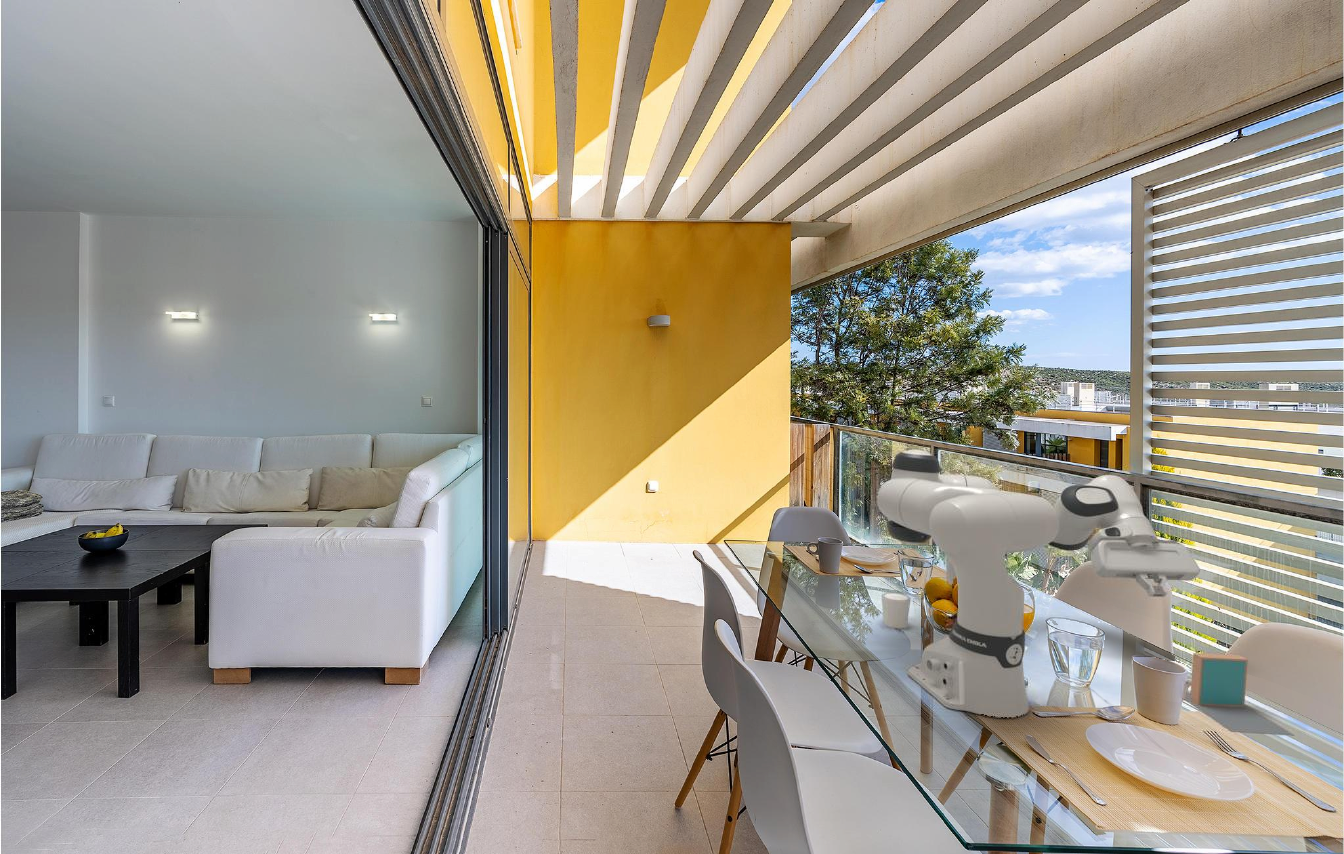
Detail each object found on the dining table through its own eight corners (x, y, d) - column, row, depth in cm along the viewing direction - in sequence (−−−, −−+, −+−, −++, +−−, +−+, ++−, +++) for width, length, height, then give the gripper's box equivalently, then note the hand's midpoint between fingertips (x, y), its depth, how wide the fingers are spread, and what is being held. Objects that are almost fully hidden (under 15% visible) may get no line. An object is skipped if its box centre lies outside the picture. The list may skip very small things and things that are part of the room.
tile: (1190, 699, 122) (1193, 652, 122) (1235, 702, 122) (1239, 654, 121) (1198, 705, 120) (1201, 657, 120) (1244, 707, 120) (1248, 659, 119)
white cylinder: (906, 631, 157) (907, 602, 156) (877, 625, 161) (878, 597, 160) (912, 622, 163) (913, 595, 162) (884, 617, 166) (885, 590, 166)
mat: (1173, 695, 125) (1173, 691, 125) (1228, 698, 125) (1228, 694, 125) (1230, 735, 111) (1231, 731, 111) (1294, 739, 110) (1294, 734, 110)
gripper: (1174, 548, 149) (1202, 604, 139) (1080, 544, 150) (1101, 600, 141) (1189, 533, 144) (1219, 590, 135) (1091, 529, 146) (1115, 586, 136)
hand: (1158, 595), depth 138 cm, fingers closed
